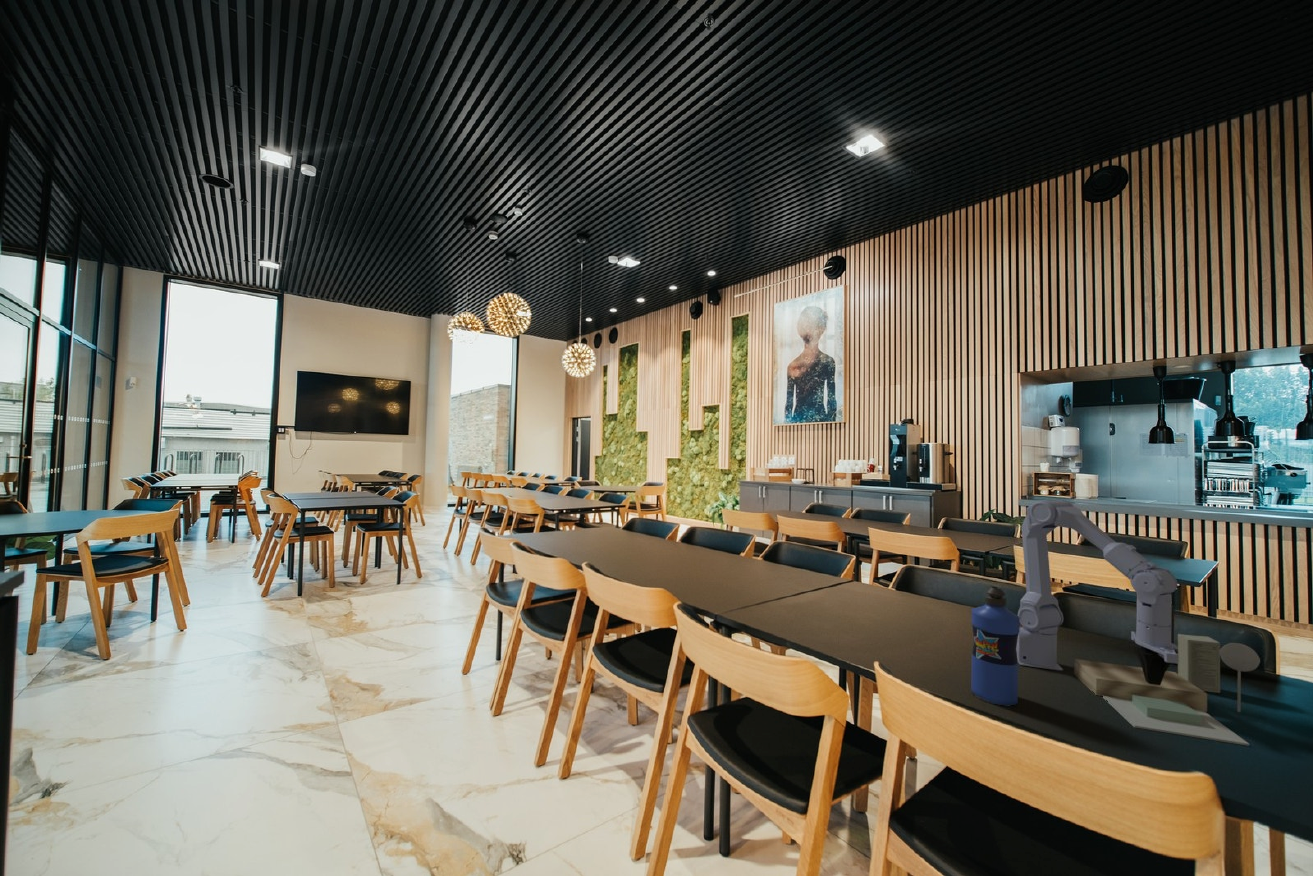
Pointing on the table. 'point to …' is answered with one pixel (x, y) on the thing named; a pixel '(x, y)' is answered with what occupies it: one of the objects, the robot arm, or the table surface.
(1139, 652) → the robot arm
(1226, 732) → the mat
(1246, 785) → the table surface
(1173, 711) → the tile
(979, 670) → the water bottle
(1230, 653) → the lollipop
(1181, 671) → the skincare box
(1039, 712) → the table surface
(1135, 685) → the riser
